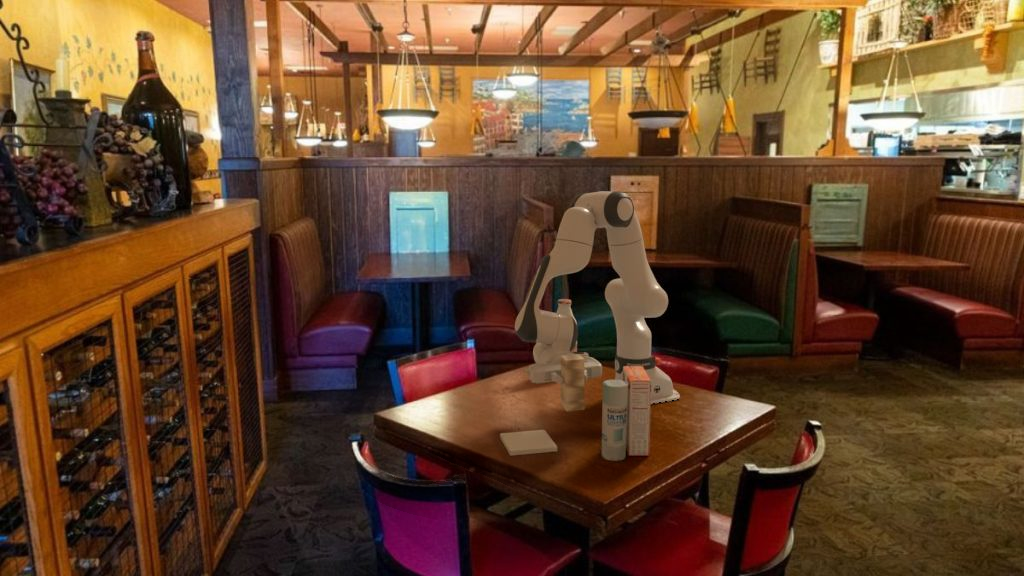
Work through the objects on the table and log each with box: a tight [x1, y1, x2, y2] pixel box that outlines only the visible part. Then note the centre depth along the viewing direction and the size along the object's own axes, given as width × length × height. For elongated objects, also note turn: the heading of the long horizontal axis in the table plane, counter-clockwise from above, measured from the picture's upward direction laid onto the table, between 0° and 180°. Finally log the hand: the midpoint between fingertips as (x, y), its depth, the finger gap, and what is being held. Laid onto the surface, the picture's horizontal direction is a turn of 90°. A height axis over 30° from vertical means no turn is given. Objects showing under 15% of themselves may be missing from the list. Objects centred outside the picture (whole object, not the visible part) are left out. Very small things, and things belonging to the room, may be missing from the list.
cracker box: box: [623, 366, 651, 457], centre depth 191 cm, size 14×6×21 cm, turn 178°
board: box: [499, 429, 558, 456], centre depth 194 cm, size 13×13×1 cm
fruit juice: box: [556, 298, 578, 352], centre depth 257 cm, size 9×9×28 cm
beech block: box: [560, 354, 586, 412], centre depth 190 cm, size 5×5×14 cm
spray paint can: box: [601, 379, 628, 462], centre depth 185 cm, size 6×6×20 cm
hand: (573, 379), depth 189 cm, fingers closed on beech block, 5 cm apart
